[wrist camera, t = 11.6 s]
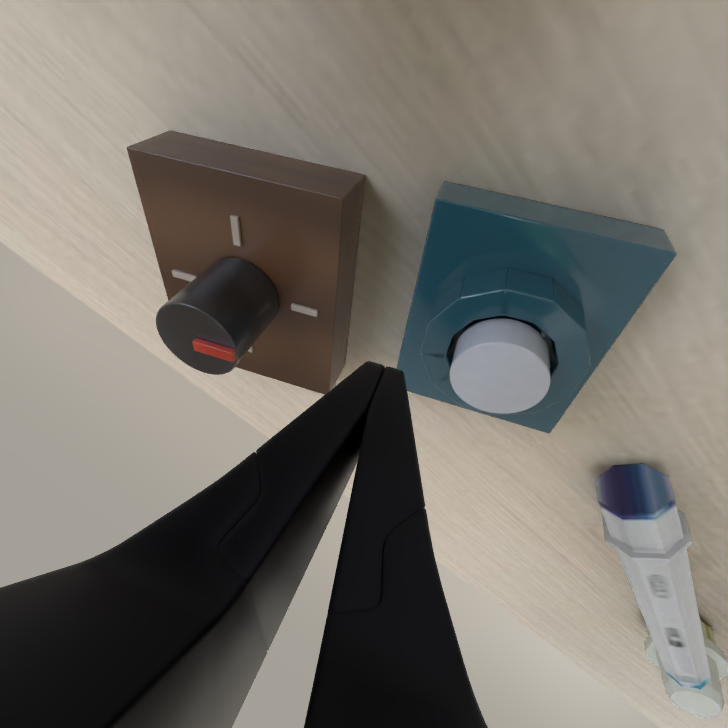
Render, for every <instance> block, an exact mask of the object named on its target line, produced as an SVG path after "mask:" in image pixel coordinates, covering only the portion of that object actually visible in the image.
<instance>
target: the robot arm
mask: <svg viewBox="0 0 728 728" xmlns="http://www.w3.org/2000/svg"><path fill="white" fill-rule="evenodd" d="M256 452H257V454H256V453H255V452H254V453H252V454H251V455H250V456H248V457H247V458H246V459H245V460H243V461H242V462H241V463H240V464H239V465H237V466H236V467H235V468H233V469H232V470H231V471H229V472H228V473H227V474H225V475H224V476H223V477H221V478H220V479H219V480H217V481H216V482H214V483H213V484H211V485H210V486H208V487H207V488H205V489H204V490H203V491H201V492H200V493H198V494H197V495H195V496H194V497H192V498H191V499H189V500H188V501H186V502H184V503H183V504H181V505H180V506H178V507H177V508H175V509H174V510H172V511H171V512H169V513H167V514H166V515H164V516H163V517H161V518H160V519H158V520H157V521H155V522H154V523H152V524H150V525H149V526H147V527H146V528H144V529H143V530H141V531H139V532H138V533H137V534H135V535H133V536H132V537H130V538H129V539H127V540H125V541H124V542H122V543H121V544H119V545H117V546H115V547H113V548H112V549H110V550H108V551H106V552H104V553H102V554H100V555H97V556H95V557H93V558H91V559H88V560H86V561H83V562H81V563H78V564H75V565H72V566H68V567H65V568H62V569H59V570H56V571H52V572H49V573H46V574H43V575H40V576H37V577H34V578H30V579H27V580H24V581H20V582H17V583H14V584H11V585H8V586H5V587H2V588H0V728H232V726H233V724H234V721H235V719H236V717H237V715H238V713H239V711H240V708H241V707H242V704H243V703H244V700H245V698H246V696H247V694H248V692H249V690H250V688H251V685H252V683H253V681H254V679H255V677H256V675H257V673H258V671H259V669H260V667H261V664H262V662H263V660H264V658H265V656H266V654H267V650H268V649H269V647H270V645H271V643H272V641H273V639H274V637H275V635H276V633H277V631H278V628H279V626H280V624H281V622H282V620H283V618H284V616H285V614H286V612H287V609H288V607H289V605H290V603H291V601H292V599H293V597H294V595H295V593H296V590H297V588H298V586H299V584H300V582H301V580H302V578H303V576H304V574H305V571H306V569H307V567H308V565H309V563H310V561H311V559H312V557H313V555H314V552H315V550H316V548H317V546H318V544H319V542H320V540H321V538H322V536H323V533H324V531H325V529H326V527H327V525H328V523H329V521H330V519H331V517H332V514H333V512H334V510H335V508H336V506H337V504H338V502H339V500H340V498H341V495H342V493H343V491H344V489H345V487H346V485H347V483H348V481H349V479H350V476H351V474H352V472H353V470H354V468H355V466H356V463H357V467H356V472H355V477H354V482H353V488H352V493H351V498H350V503H349V508H348V513H347V518H346V523H345V528H344V533H343V538H342V543H341V548H340V554H339V559H338V563H337V568H336V573H335V579H334V584H333V589H332V594H331V599H330V604H329V609H328V615H327V619H326V624H325V629H324V635H323V639H322V644H321V649H320V654H319V659H318V664H317V668H316V673H315V678H314V682H313V688H312V692H311V697H310V701H309V706H308V711H307V716H306V720H305V725H304V728H488V727H487V725H486V723H485V721H484V719H483V716H482V714H481V711H480V709H479V706H478V703H477V701H476V698H475V696H474V693H473V690H472V687H471V684H470V681H469V678H468V675H467V672H466V668H465V665H464V662H463V658H462V655H461V651H460V648H459V644H458V641H457V637H456V634H455V631H454V627H453V623H452V620H451V616H450V613H449V609H448V606H447V603H446V599H445V596H444V592H443V588H442V585H441V581H440V577H439V573H438V569H437V565H436V561H435V557H434V552H433V547H432V542H431V537H430V532H429V526H428V520H427V513H426V509H424V507H425V502H424V496H423V489H422V483H421V477H420V470H419V464H418V458H417V451H416V445H415V439H414V432H413V426H412V420H411V413H410V407H409V400H408V394H407V388H406V381H405V375H404V372H403V371H402V370H398V369H395V368H391V367H386V368H385V367H384V366H383V365H381V364H377V363H374V362H370V361H368V362H365V363H364V364H363V365H362V366H360V367H359V368H358V369H357V370H355V371H354V372H353V373H352V374H350V375H349V376H348V377H347V378H345V379H344V380H343V381H342V382H340V383H339V384H338V385H337V386H336V387H334V388H333V389H332V390H331V391H329V392H328V393H327V394H326V395H324V396H323V397H322V398H321V399H319V400H318V401H317V402H316V403H314V404H313V405H312V406H311V407H309V408H308V409H307V410H306V411H304V412H303V413H302V414H301V415H299V416H298V417H297V418H296V419H295V420H293V421H292V422H291V423H290V424H288V425H287V426H286V427H285V428H283V429H282V430H281V431H280V432H278V433H277V434H276V435H275V436H273V437H272V438H271V439H270V440H268V441H267V442H266V443H265V444H263V445H262V446H261V447H260V448H259V449H257V451H256ZM357 461H358V462H357Z"/></svg>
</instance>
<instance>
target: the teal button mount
mask: <svg viewBox="0 0 728 728" xmlns="http://www.w3.org/2000/svg"><path fill="white" fill-rule="evenodd" d="M675 256H676V252H675V250H674V248H673V246H672V244H671V242H670V240H669V239H668V237H667V235H666V233H665V231H664V230H663V229H659V228H655V227H650V226H646V225H641V224H637V223H632V222H628V221H623V220H619V219H614V218H610V217H605V216H601V215H596V214H592V213H587V212H583V211H578V210H574V209H569V208H565V207H560V206H556V205H551V204H547V203H542V202H538V201H533V200H529V199H524V198H520V197H515V196H511V195H506V194H502V193H497V192H493V191H488V190H484V189H479V188H475V187H470V186H466V185H461V184H457V183H452V182H447V181H444V183H443V185H442V187H441V189H440V191H439V193H438V195H437V197H436V199H435V203H434V208H433V212H432V216H431V221H430V225H429V229H428V234H427V238H426V242H425V247H424V251H423V255H422V260H421V264H420V268H419V273H418V277H417V282H416V286H415V290H414V295H413V299H412V303H411V308H410V312H409V316H408V321H407V325H406V329H405V334H404V338H403V342H402V347H401V351H400V355H399V360H398V364H397V368H396V369H398V370H402V371H403V372H404V375H405V381H406V388H407V391H409V392H412V393H416V394H419V395H422V396H426V397H429V398H432V399H436V400H439V401H442V402H446V403H449V404H452V405H456V406H459V407H462V408H466V409H469V410H472V411H476V412H479V413H482V414H486V415H489V416H492V417H496V418H499V419H502V420H506V421H509V422H512V423H516V424H519V425H522V426H526V427H529V428H532V429H536V430H539V431H542V432H546V433H550V432H551V431H552V429H553V428H554V426H555V425H556V424H557V422H558V421H559V419H560V418H561V417H562V415H563V414H564V412H565V411H566V409H567V408H568V407H569V405H570V404H571V402H572V401H573V400H574V398H575V397H576V395H577V394H578V393H579V391H580V390H581V388H582V387H583V386H584V384H585V383H586V381H587V380H588V379H589V377H590V376H591V374H592V373H593V371H594V370H595V369H596V367H597V366H598V364H599V363H600V362H601V360H602V359H603V357H604V356H605V355H606V353H607V352H608V350H609V349H610V348H611V346H612V345H613V343H614V342H615V340H616V339H617V338H618V336H619V335H620V333H621V332H622V331H623V329H624V328H625V326H626V325H627V324H628V322H629V321H630V319H631V318H632V317H633V315H634V314H635V312H636V311H637V309H638V308H639V307H640V305H641V304H642V302H643V301H644V300H645V298H646V297H647V295H648V294H649V293H650V291H651V290H652V288H653V287H654V286H655V284H656V283H657V281H658V280H659V278H660V277H661V276H662V274H663V273H664V271H665V270H666V269H667V267H668V266H669V264H670V263H671V262H672V260H673V259H674V257H675ZM495 318H506V319H513V320H517V321H520V322H523V323H525V324H528V325H529V326H531V327H533V328H534V329H535V330H537V331H538V332H539V333H540V334H541V335H542V336H543V338H544V339H545V341H546V343H547V345H548V348H549V354H550V376H551V381H550V387H549V390H548V392H547V394H546V395H545V396H544V398H543V399H542V400H541V401H540V402H539V403H537V404H536V405H535V406H533V407H531V408H529V409H526V410H524V411H520V412H516V413H509V414H498V413H490V412H486V411H482V410H479V409H477V408H475V407H472V406H471V405H469V404H467V403H466V402H464V401H463V400H462V399H461V398H460V397H459V396H458V395H457V394H456V392H455V391H454V389H453V387H452V385H451V382H450V376H449V374H450V367H451V363H452V358H453V354H454V349H455V345H456V342H457V340H458V338H459V337H460V335H461V334H462V333H463V332H464V331H465V330H467V329H468V328H469V327H471V326H472V325H474V324H476V323H478V322H481V321H484V320H488V319H495Z"/></svg>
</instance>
